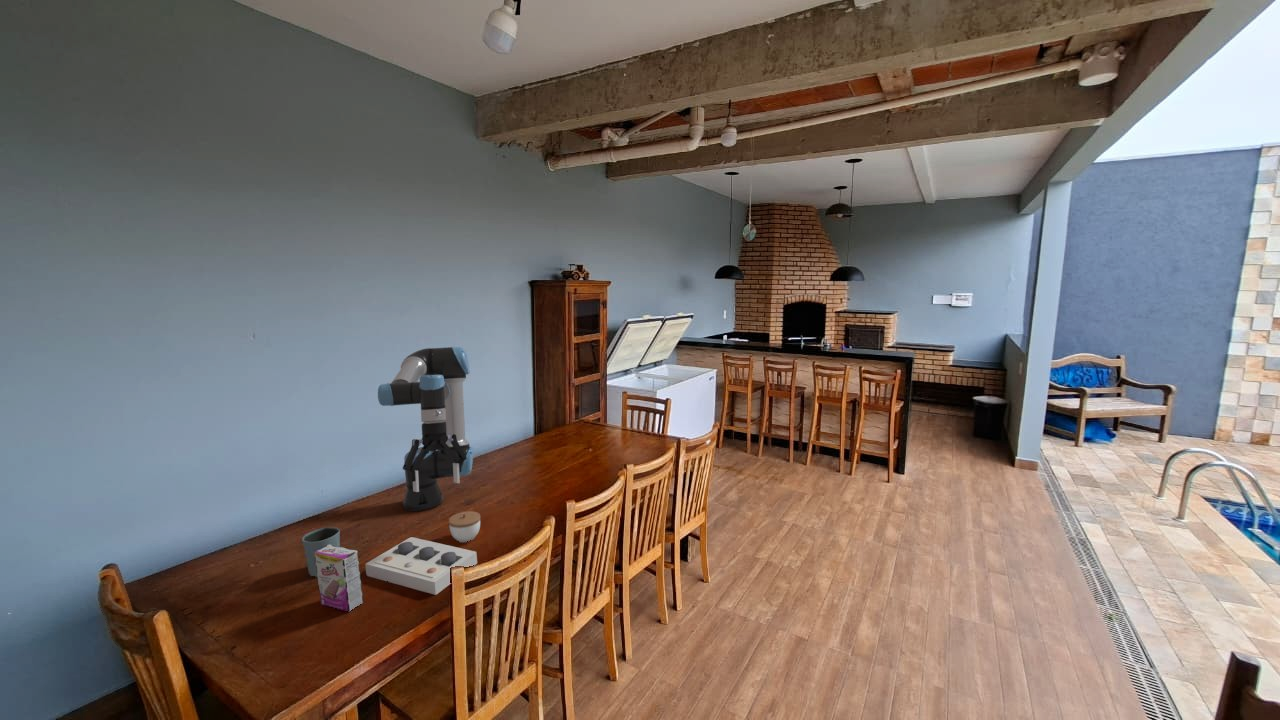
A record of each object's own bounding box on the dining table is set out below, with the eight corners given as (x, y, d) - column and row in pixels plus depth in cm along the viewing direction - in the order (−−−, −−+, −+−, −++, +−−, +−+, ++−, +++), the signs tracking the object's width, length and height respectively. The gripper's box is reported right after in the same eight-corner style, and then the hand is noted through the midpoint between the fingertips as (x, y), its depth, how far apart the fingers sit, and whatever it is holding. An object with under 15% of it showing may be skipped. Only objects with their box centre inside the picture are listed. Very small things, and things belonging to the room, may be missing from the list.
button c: (448, 559, 161) (447, 550, 160) (459, 562, 159) (458, 553, 159) (438, 566, 157) (437, 557, 156) (449, 569, 155) (448, 560, 155)
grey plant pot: (304, 581, 154) (299, 545, 152) (308, 565, 163) (304, 531, 161) (342, 572, 159) (338, 537, 157) (344, 557, 168) (340, 523, 166)
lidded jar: (471, 547, 173) (470, 521, 172) (443, 544, 175) (441, 519, 174) (487, 532, 184) (485, 508, 182) (460, 529, 186) (458, 505, 184)
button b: (427, 554, 164) (426, 545, 164) (437, 556, 163) (436, 548, 162) (416, 561, 160) (415, 552, 160) (427, 563, 158) (426, 554, 158)
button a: (406, 549, 168) (405, 540, 167) (416, 551, 166) (415, 543, 165) (395, 555, 163) (394, 547, 163) (405, 558, 162) (404, 549, 161)
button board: (412, 547, 173) (410, 535, 173) (477, 563, 163) (476, 550, 162) (366, 575, 157) (365, 562, 156) (435, 595, 146) (434, 580, 146)
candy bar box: (319, 606, 142) (312, 552, 140) (335, 595, 147) (329, 543, 144) (349, 613, 139) (343, 558, 136) (364, 603, 143) (358, 549, 141)
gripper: (399, 426, 152) (402, 496, 152) (474, 418, 171) (477, 480, 170) (389, 426, 157) (392, 493, 157) (463, 417, 176) (466, 478, 175)
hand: (437, 487), depth 164 cm, fingers open, 13 cm apart
